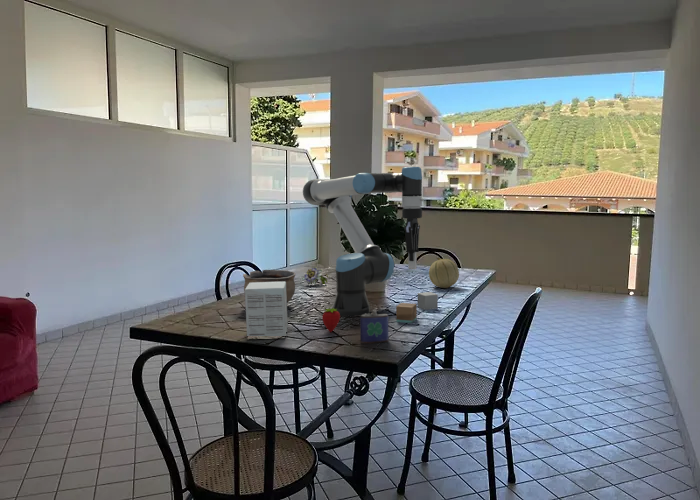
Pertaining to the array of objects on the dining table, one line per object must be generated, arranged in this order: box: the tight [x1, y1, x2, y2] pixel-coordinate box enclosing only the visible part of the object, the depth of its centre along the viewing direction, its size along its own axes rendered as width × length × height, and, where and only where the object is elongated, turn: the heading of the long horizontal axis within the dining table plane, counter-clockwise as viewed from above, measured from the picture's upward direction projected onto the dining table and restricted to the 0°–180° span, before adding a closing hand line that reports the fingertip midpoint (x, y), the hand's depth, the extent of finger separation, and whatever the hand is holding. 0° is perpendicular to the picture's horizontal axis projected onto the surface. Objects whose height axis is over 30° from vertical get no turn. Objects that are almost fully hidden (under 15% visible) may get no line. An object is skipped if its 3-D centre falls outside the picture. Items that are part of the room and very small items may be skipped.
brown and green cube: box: [395, 302, 418, 324], centre depth 191 cm, size 6×6×6 cm
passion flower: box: [301, 265, 329, 285], centre depth 269 cm, size 11×11×12 cm
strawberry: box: [321, 303, 341, 333], centre depth 177 cm, size 6×8×10 cm
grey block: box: [417, 291, 439, 311], centre depth 212 cm, size 6×6×6 cm
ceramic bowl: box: [242, 269, 296, 304], centre depth 217 cm, size 22×22×15 cm
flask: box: [359, 309, 390, 344], centre depth 165 cm, size 9×3×11 cm, turn 95°
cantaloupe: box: [428, 257, 460, 289], centre depth 253 cm, size 15×15×15 cm
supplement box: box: [244, 281, 289, 337], centre depth 176 cm, size 13×13×18 cm
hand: (412, 269), depth 197 cm, fingers closed
